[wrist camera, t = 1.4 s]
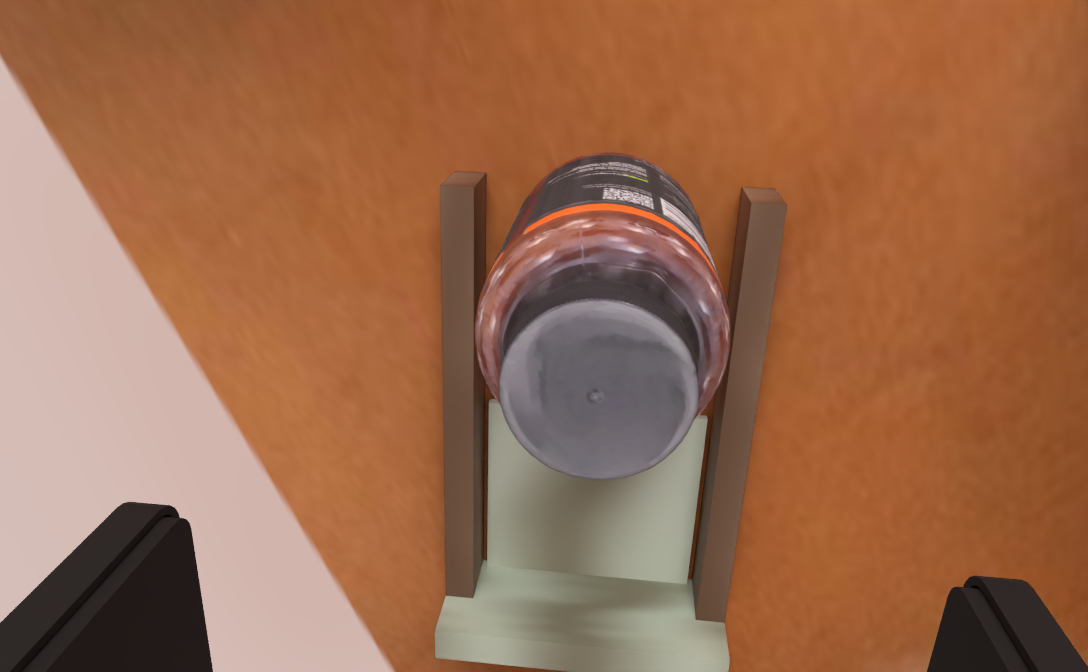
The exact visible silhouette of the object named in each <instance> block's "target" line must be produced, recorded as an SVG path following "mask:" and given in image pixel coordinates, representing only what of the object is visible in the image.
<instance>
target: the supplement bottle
mask: <svg viewBox="0 0 1088 672" xmlns="http://www.w3.org/2000/svg"><path fill="white" fill-rule="evenodd" d="M730 342H731V333H730V316H729V309H728V305H727V301H726V298H725V295H724V292H723V289H722V286H721V282H720V280H719V277H718V274H717V271H716V269H715V266H714V263H713V260H712V257H711V254H710V251H709V248H708V245H707V242H706V239H705V236H704V233H703V230H702V227H701V223H700V221H699V217H698V216H697V214H696V212H695V209H694V207H693V205H692V203H691V202H690V199H689V197H688V196H687V194H686V193H685V192H684V190H683V189H682V188H681V186H680V185H679V184H678V183H677V182H676V181H675V180H674V179H673V178H672V177H671V176H670V175H669V174H667V173H666V172H664V171H663V170H662V169H661V168H660V167H658V166H656V165H654V164H652V163H650V162H648V161H646V160H643V159H641V158H637V157H634V156H630V155H625V154H619V153H596V154H591V155H586V156H581V157H578V158H576V159H573V160H571V161H569V162H567V163H565V164H563V165H561V166H560V167H558V168H556V169H555V170H553V171H552V172H551V173H549V174H548V175H547V176H546V177H545V178H544V179H543V180H541V181H540V183H539V184H538V185H537V186H536V187H535V188H534V190H533V191H532V192H531V193H530V195H529V196H528V198H527V199H526V200H525V202H524V203H523V205H522V207H521V209H520V211H519V214H518V216H517V218H516V220H515V222H514V223H513V225H512V228H511V230H510V232H509V234H508V236H507V238H506V240H505V242H504V244H503V246H502V248H501V250H500V252H499V254H498V256H497V258H496V260H495V262H494V264H493V266H492V268H491V271H490V273H489V275H488V277H487V279H486V282H485V284H484V287H483V289H482V292H481V294H480V298H479V302H478V308H477V314H476V322H475V344H476V350H477V359H478V361H479V366H480V368H481V371H482V374H483V376H484V379H485V381H486V383H487V385H488V387H489V388H490V390H491V393H492V394H493V396H494V397H495V399H496V400H497V402H498V403H499V405H500V406H501V408H502V412H503V415H504V417H505V420H506V423H507V424H508V426H509V428H510V431H511V432H512V433H513V435H514V436H515V438H516V440H517V441H518V442H519V443H520V444H521V445H522V446H523V448H524V449H525V450H526V451H527V452H528V453H529V454H530V455H531V456H533V457H534V458H536V459H537V460H538V461H540V462H541V463H542V464H544V465H545V466H547V467H549V468H551V469H553V470H555V471H558V472H561V473H563V474H566V475H569V476H572V477H575V478H583V479H589V480H615V479H620V478H626V477H629V476H633V475H636V474H638V473H640V472H644V471H646V470H648V469H650V468H652V467H654V466H656V465H657V464H659V463H660V462H662V461H663V460H664V459H665V458H666V457H667V456H669V455H670V454H671V453H672V452H673V451H674V450H675V449H676V448H677V447H678V445H679V444H680V443H681V442H682V441H683V439H684V438H685V436H686V435H687V433H688V432H689V430H690V428H691V426H692V423H693V421H694V420H695V419H696V417H697V416H699V415H700V413H701V412H702V411H703V410H704V409H705V408H706V406H707V404H708V403H709V401H710V400H711V399H712V397H713V395H714V394H715V392H716V390H717V388H718V386H719V385H720V383H721V380H722V376H723V374H724V373H725V370H726V365H727V360H728V356H729V351H730Z"/></svg>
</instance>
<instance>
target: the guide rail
mask: <svg viewBox="0 0 1088 672" xmlns="http://www.w3.org/2000/svg"><path fill="white" fill-rule="evenodd" d="M440 210H441V280H442V351H443V422H444V493H445V564H446V597H445V600H444V603H443V607H442V610H441V613H440V616H439V619H438V623H437V626H436V629H435V658H442V659H451V660H461V661H471V662H480V663H490V664H500V665H509V666H519V667H529V668H538V669H548V670H558V671H567V672H728V670H729V663H730V658H729V651H728V644H727V637H726V630H725V624H724V622H725V615H726V609H727V602H728V595H729V589H730V582H731V576H732V569H733V562H734V556H735V549H736V542H737V536H738V529H739V522H740V516H741V509H742V503H743V496H744V489H745V483H746V476H747V469H748V463H749V456H750V450H751V443H752V436H753V430H754V423H755V416H756V410H757V403H758V396H759V390H760V383H761V377H762V370H763V363H764V357H765V350H766V343H767V337H768V330H769V323H770V317H771V310H772V304H773V297H774V290H775V284H776V277H777V270H778V264H779V257H780V251H781V244H782V237H783V231H784V224H785V217H786V211H787V204H786V203H785V201H784V200H783V199H782V197H781V196H780V195H779V193H778V192H777V191H776V189H771V188H753V187H742V191H741V199H740V207H739V215H738V223H737V230H736V238H735V246H734V254H733V262H732V269H731V277H730V285H729V293H728V301H727V305H728V309H729V316H730V333H731V342H730V351H729V356H728V360H727V365H726V370H725V373H724V374H723V376H722V380H721V383H720V385H719V386H718V388H717V390H716V394H715V402H714V410H713V418H712V425H711V433H710V441H709V449H708V457H707V465H706V472H705V480H704V488H703V496H702V504H701V511H700V519H699V527H698V535H697V543H696V550H695V558H694V566H693V574H692V580H691V579H688V572H689V564H690V556H691V548H692V540H693V532H694V524H695V516H696V508H697V500H698V492H699V484H700V476H701V468H702V460H703V452H704V444H705V436H706V428H707V421H708V419H707V416H705V415H699V416H697V417H696V419H695V420H694V421H693V423H692V426H691V428H690V430H689V432H688V433H687V435H686V436H685V438H684V439H683V441H682V442H681V443H680V444H679V445H678V447H677V448H676V449H675V450H674V451H673V452H672V453H671V454H670V455H669V456H667V457H666V458H665V459H664V460H663V461H662V462H660V463H659V464H657V465H656V466H654V467H652V468H650V469H648V470H646V471H644V472H640V473H638V474H636V475H633V476H629V477H626V478H620V479H615V480H589V479H583V478H575V477H572V476H569V475H566V474H563V473H561V472H558V471H555V470H553V469H551V468H549V467H547V466H545V465H544V464H542V463H541V462H540V461H538V460H537V459H536V458H534V457H533V456H531V455H530V454H529V453H528V452H527V451H526V450H525V449H524V448H523V446H522V445H521V444H520V443H519V442H518V441H517V440H516V438H515V436H514V435H513V433H512V432H511V431H510V428H509V426H508V424H507V423H506V420H505V417H504V415H503V412H502V408H501V406H500V405H499V403H498V402H497V400H496V399H490V401H489V433H488V535H487V560H483V543H484V411H485V379H484V376H483V374H482V371H481V368H480V366H479V361H478V359H477V350H476V344H475V322H476V314H477V308H478V302H479V298H480V294H481V292H482V289H483V287H484V284H485V279H486V173H480V172H461V171H455V172H454V173H453V174H452V175H451V176H450V177H449V178H448V179H446V180H445V181H444V182H443V183H442V184H441V185H440Z"/></svg>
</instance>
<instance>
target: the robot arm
mask: <svg viewBox="0 0 1088 672" xmlns="http://www.w3.org/2000/svg"><path fill="white" fill-rule="evenodd" d="M0 672H213V669H212V663H211V657H210V650H209V643H208V637H207V630H206V624H205V617H204V610H203V604H202V597H201V591H200V584H199V578H198V571H197V564H196V558H195V552H194V545H193V538H192V532H191V527H190V523H189V522H188V521H187V520H186V519H184V518H180V517H179V514H178V512H177V510H176V509H175V508H174V507H172V506H170V505H158V504H147V503H136V502H127V503H123V504H122V505H120V506H119V507H118V508H116V509H115V510H114V511H113V512H112V513H111V514H110V515H109V516H108V517H107V518H106V519H105V520H104V522H102V523H101V524H100V525H99V526H98V527H97V528H96V529H95V530H94V531H93V532H92V533H91V534H90V535H89V536H88V537H87V538H86V539H85V540H84V541H83V542H82V543H81V544H80V545H79V546H78V547H77V548H76V549H75V550H74V551H73V552H72V553H71V554H70V555H69V556H68V557H67V558H66V559H65V560H64V561H63V562H62V563H61V564H60V565H59V566H58V567H57V568H56V569H55V570H54V571H53V572H51V574H49V575H48V577H46V578H45V579H44V580H43V582H41V583H40V584H39V586H37V587H36V588H35V589H34V590H33V591H32V592H31V594H29V595H28V596H27V597H26V598H25V599H24V600H23V601H22V602H21V603H20V604H19V605H18V606H17V607H16V608H15V609H14V610H13V611H12V612H11V613H10V614H9V615H8V616H7V617H6V618H5V619H4V620H3V621H2V622H1V623H0ZM927 672H1088V666H1087V665H1086V664H1085V662H1084V661H1083V659H1082V658H1081V656H1080V655H1079V654H1078V652H1077V651H1076V649H1075V648H1074V646H1073V645H1072V644H1071V642H1070V641H1069V639H1068V638H1067V636H1066V635H1065V633H1064V632H1063V631H1062V629H1061V628H1060V626H1059V625H1058V623H1057V622H1056V621H1055V619H1054V618H1053V616H1052V615H1051V613H1050V612H1049V610H1048V609H1047V608H1046V606H1045V605H1044V603H1043V602H1042V600H1041V599H1040V598H1039V596H1038V595H1037V593H1036V592H1035V590H1034V589H1033V588H1032V587H1031V586H1030V585H1029V583H1028V582H1025V581H1023V580H1017V579H1006V578H994V577H983V576H972V577H969V579H968V580H967V581H966V582H965V584H964V587H954V588H952V590H951V591H950V593H949V595H948V598H947V602H946V605H945V609H944V612H943V616H942V620H941V623H940V627H939V631H938V634H937V638H936V641H935V645H934V649H933V652H932V656H931V659H930V663H929V667H928V670H927Z"/></svg>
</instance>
